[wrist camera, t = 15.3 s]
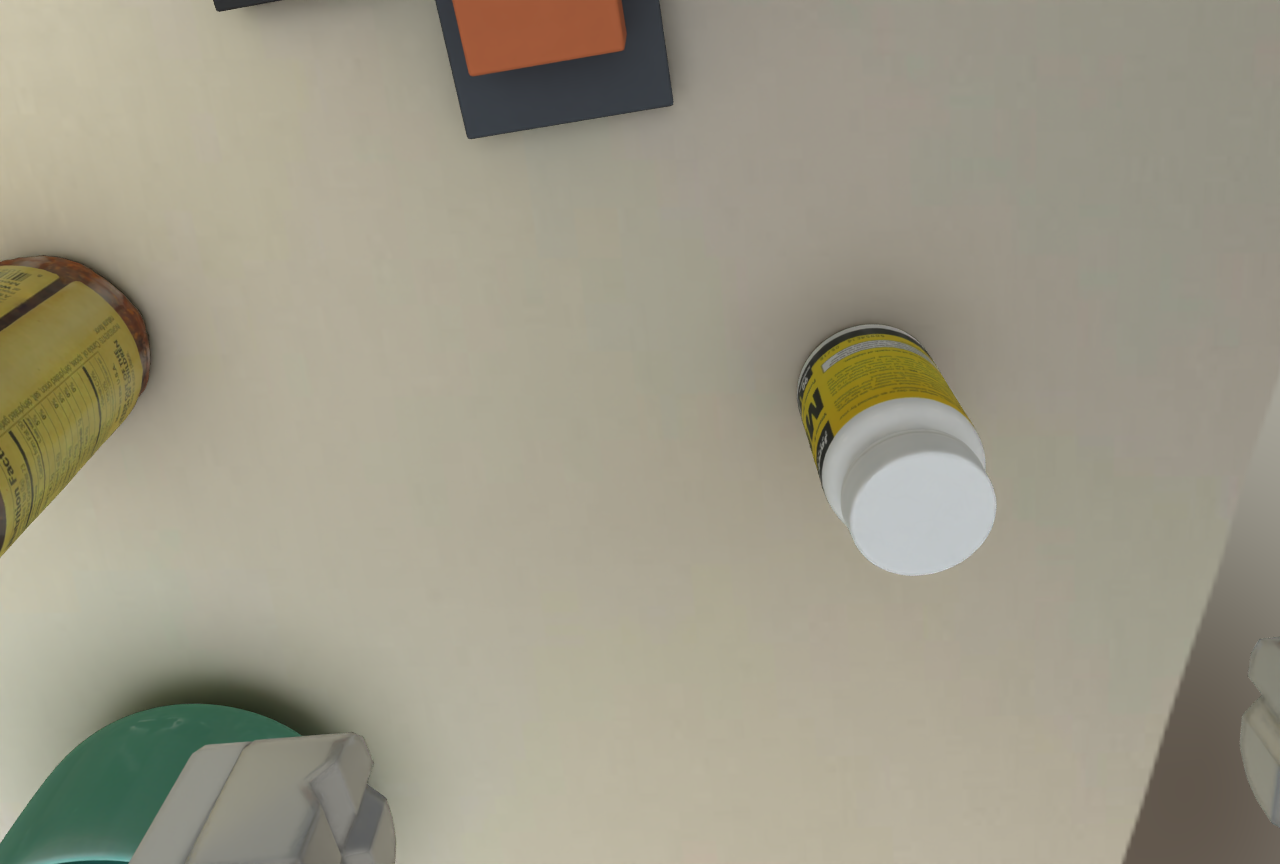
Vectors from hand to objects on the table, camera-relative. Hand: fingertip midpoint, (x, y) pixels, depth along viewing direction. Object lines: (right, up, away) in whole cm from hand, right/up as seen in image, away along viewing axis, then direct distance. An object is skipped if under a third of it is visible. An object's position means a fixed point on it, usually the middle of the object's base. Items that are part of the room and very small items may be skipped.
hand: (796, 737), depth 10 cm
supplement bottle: (+6, +5, +26) cm, 27 cm away
